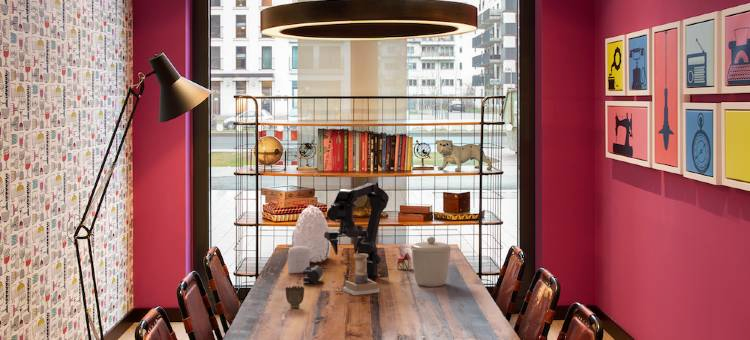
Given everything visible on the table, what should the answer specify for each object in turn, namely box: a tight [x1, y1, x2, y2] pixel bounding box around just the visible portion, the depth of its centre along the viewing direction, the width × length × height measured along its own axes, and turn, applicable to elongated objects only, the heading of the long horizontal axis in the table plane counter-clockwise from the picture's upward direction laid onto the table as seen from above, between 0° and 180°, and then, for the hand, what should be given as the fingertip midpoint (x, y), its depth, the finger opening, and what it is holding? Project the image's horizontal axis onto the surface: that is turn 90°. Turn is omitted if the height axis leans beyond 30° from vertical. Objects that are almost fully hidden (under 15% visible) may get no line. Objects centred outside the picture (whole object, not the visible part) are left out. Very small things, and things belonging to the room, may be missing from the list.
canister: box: [410, 236, 453, 288], centre depth 378 cm, size 18×18×21 cm
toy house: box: [396, 251, 412, 271], centre depth 413 cm, size 6×7×8 cm
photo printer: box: [287, 246, 310, 274], centre depth 403 cm, size 10×4×12 cm, turn 116°
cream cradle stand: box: [343, 278, 381, 296], centre depth 365 cm, size 12×10×4 cm
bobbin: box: [353, 253, 369, 285], centre depth 365 cm, size 6×6×14 cm
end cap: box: [302, 265, 324, 286], centre depth 382 cm, size 10×7×7 cm
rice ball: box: [291, 204, 331, 263], centre depth 432 cm, size 28×19×28 cm
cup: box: [285, 285, 305, 310], centre depth 336 cm, size 8×7×8 cm
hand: (345, 253), depth 379 cm, fingers open, 9 cm apart
